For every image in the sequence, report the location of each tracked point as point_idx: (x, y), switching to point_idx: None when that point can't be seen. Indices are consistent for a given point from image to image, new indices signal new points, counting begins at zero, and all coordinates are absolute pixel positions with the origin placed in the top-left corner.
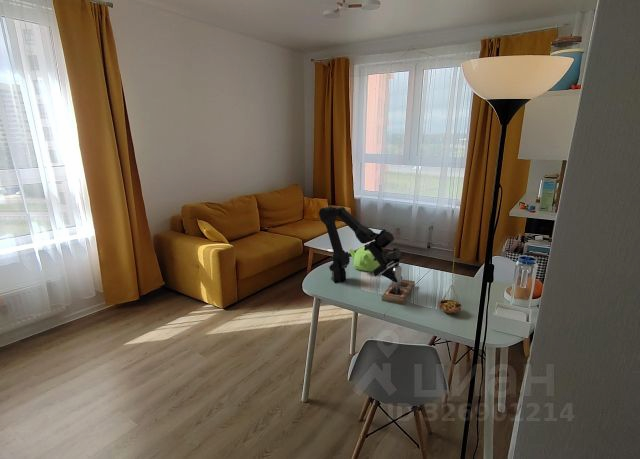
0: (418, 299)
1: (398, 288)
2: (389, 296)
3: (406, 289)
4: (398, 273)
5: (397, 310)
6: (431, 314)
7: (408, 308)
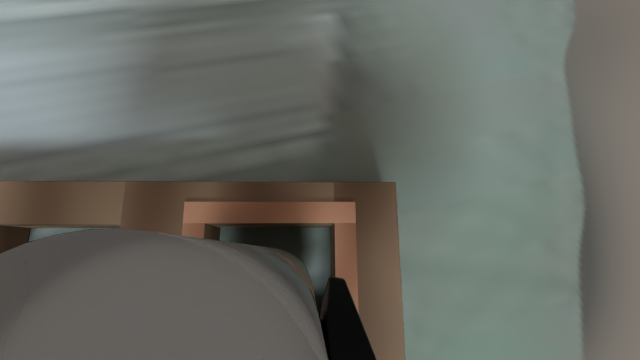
0: (241, 111)
1: (298, 262)
2: (389, 327)
3: (163, 212)
4: (306, 295)
5: (485, 212)
6: (422, 4)
7: (416, 147)
